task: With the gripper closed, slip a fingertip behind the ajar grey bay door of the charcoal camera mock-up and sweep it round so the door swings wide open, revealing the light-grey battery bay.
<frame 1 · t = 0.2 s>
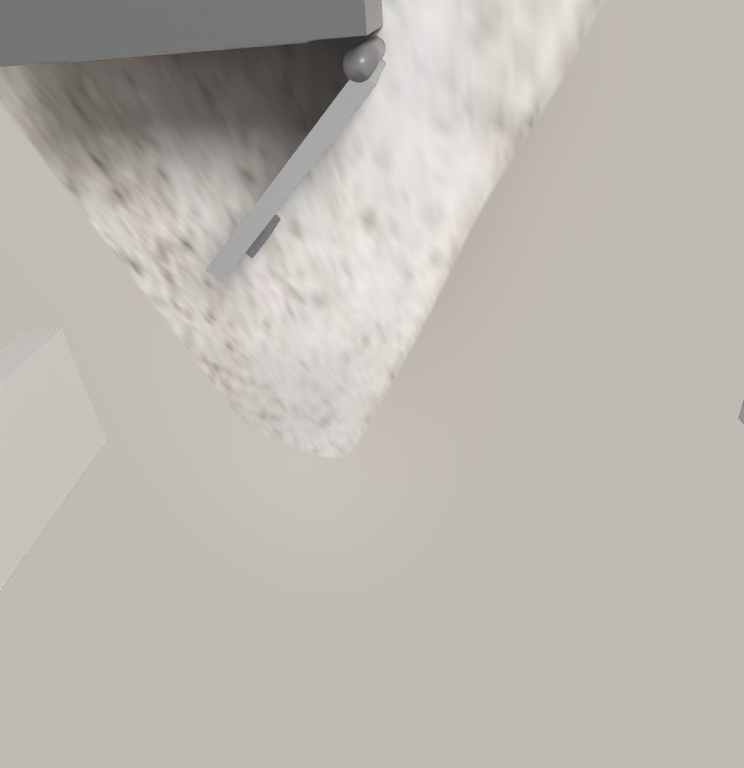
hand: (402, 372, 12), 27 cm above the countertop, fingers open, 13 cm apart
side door: (306, 152, 30), point 6 cm above the countertop, hinge at 45.0°
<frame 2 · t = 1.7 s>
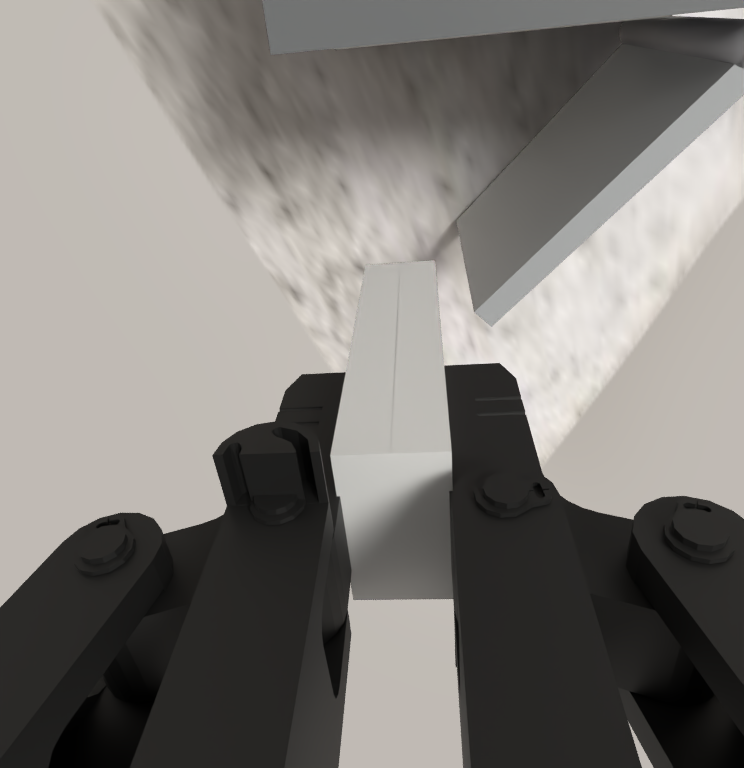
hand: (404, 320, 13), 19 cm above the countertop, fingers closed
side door: (573, 160, 24), point 6 cm above the countertop, hinge at 45.0°
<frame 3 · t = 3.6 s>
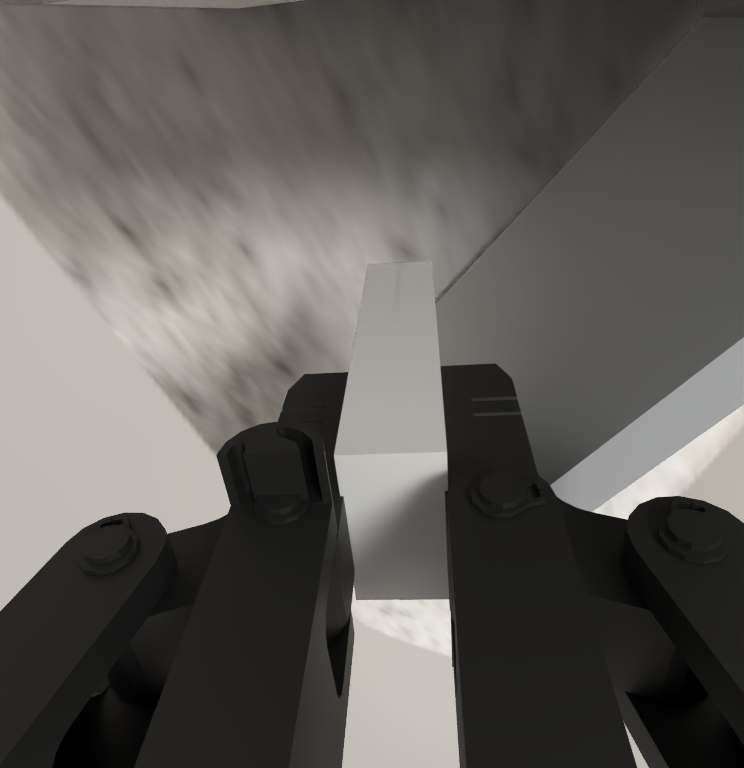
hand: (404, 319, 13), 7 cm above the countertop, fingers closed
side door: (628, 235, 13), point 6 cm above the countertop, hinge at 46.7°, touching gripper
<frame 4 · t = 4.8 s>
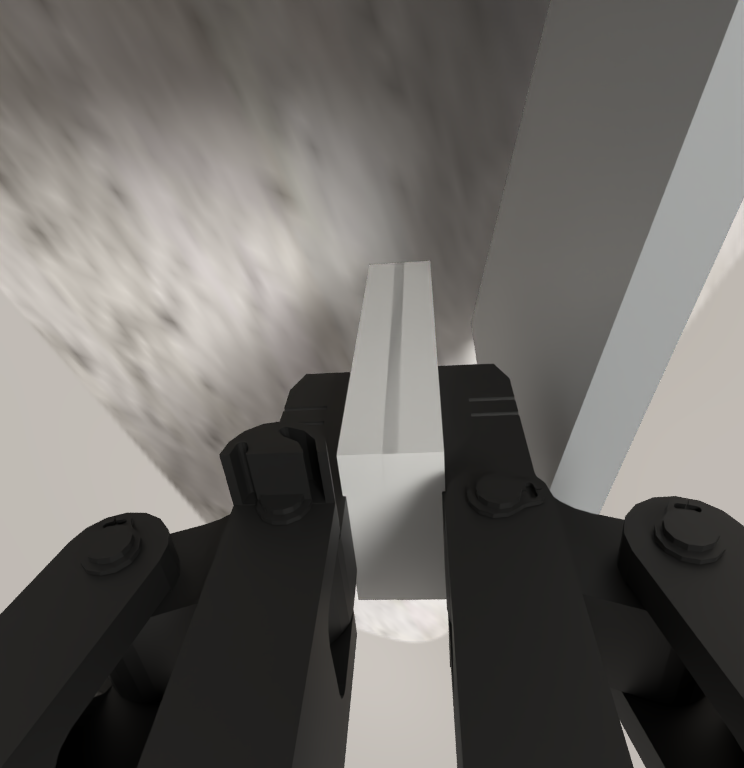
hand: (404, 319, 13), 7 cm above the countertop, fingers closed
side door: (570, 185, 12), point 6 cm above the countertop, hinge at 76.9°, touching gripper
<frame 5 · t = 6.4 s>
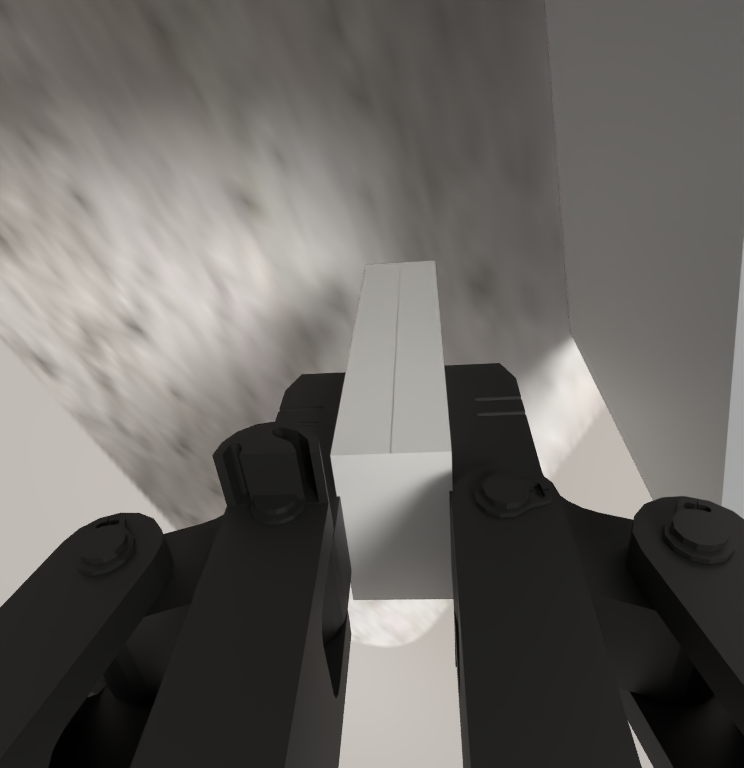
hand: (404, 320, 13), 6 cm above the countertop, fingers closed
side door: (631, 195, 12), point 6 cm above the countertop, hinge at 99.0°
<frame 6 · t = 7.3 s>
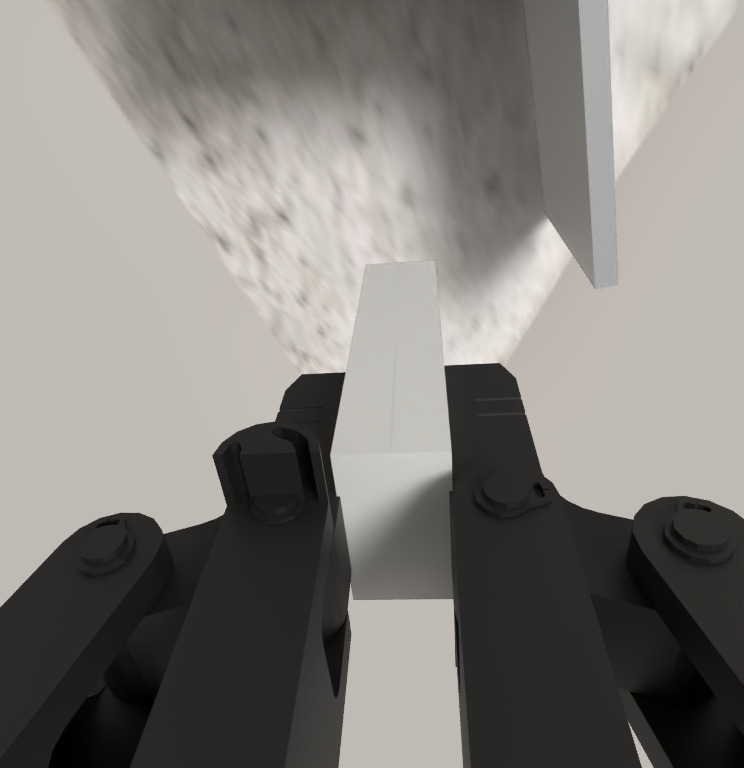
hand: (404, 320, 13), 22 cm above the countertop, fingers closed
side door: (564, 113, 26), point 6 cm above the countertop, hinge at 99.0°
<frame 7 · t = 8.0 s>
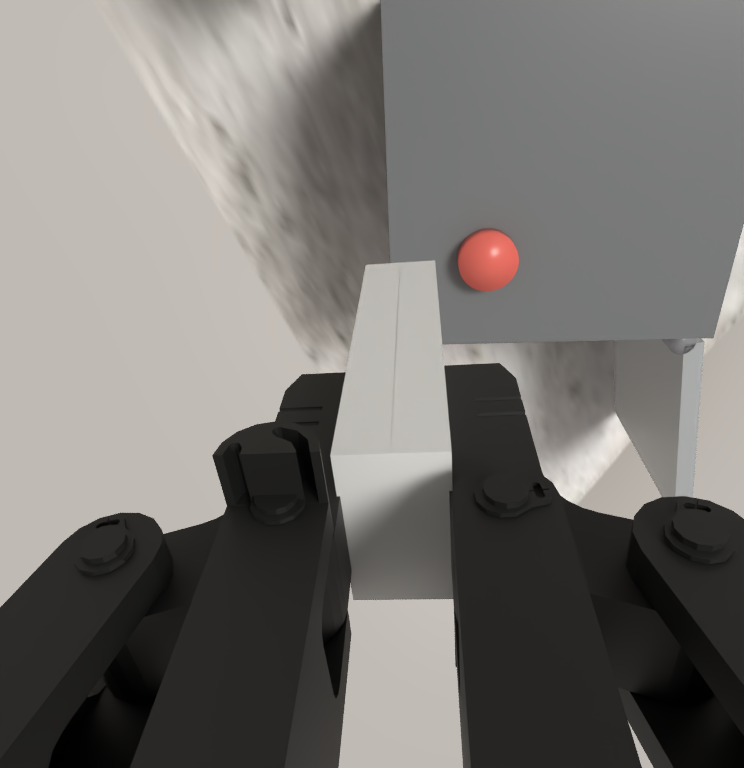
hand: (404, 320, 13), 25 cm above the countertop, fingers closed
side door: (649, 378, 35), point 6 cm above the countertop, hinge at 99.0°
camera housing: (515, 130, 34), on the countertop
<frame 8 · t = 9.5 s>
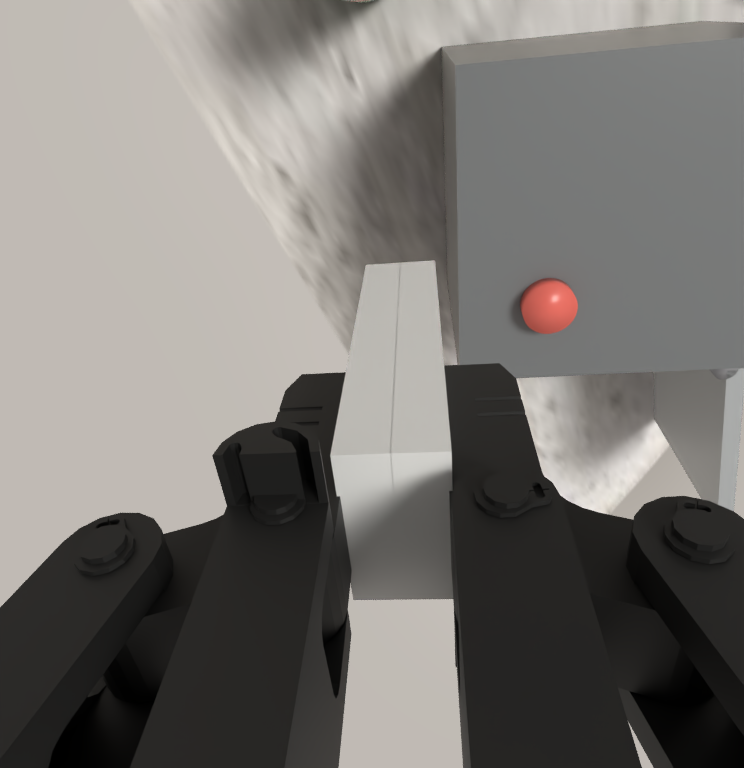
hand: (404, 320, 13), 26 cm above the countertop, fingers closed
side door: (690, 394, 38), point 6 cm above the countertop, hinge at 99.0°
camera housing: (559, 166, 36), on the countertop
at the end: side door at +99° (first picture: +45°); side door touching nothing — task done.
